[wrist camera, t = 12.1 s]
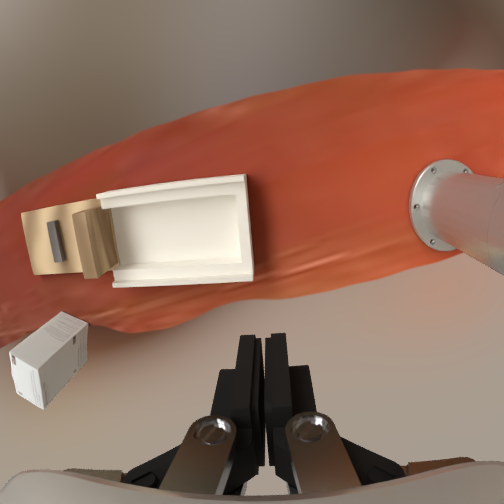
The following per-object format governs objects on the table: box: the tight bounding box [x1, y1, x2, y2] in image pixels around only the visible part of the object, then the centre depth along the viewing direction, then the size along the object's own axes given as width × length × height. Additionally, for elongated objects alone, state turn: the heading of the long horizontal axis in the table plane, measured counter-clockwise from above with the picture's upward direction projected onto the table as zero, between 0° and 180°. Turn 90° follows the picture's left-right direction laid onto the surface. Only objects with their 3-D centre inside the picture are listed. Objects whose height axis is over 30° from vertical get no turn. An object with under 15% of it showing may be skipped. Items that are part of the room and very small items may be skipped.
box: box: [96, 174, 254, 288], centre depth 38 cm, size 18×12×4 cm, turn 95°
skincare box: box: [9, 312, 89, 410], centre depth 39 cm, size 8×6×15 cm
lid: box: [21, 198, 121, 279], centre depth 38 cm, size 17×10×8 cm, turn 95°
